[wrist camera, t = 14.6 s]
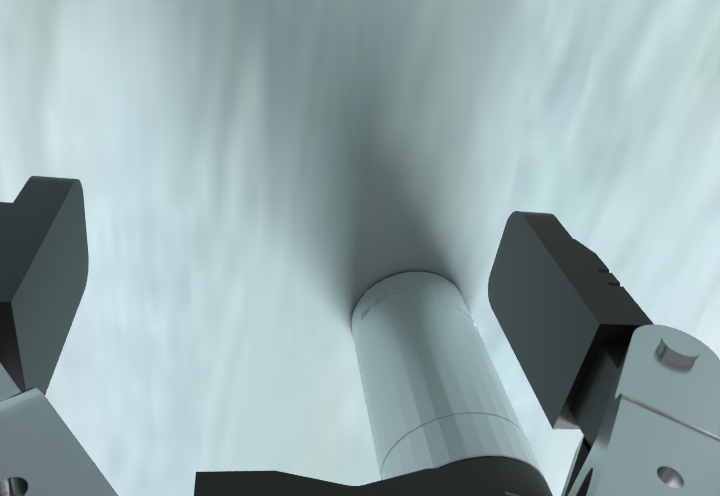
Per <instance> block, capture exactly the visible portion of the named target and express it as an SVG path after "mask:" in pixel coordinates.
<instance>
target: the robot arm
mask: <svg viewBox="0 0 720 496" xmlns="http://www.w3.org/2000/svg"><path fill="white" fill-rule="evenodd" d="M87 276H88V245H87V234H86V222H85V210H84V198H83V189H82V185H81V182H80V180H78V179H69V178H55V177H41V176H31V177H30V178H29V180H28V181H27V183H26V184H25V186H24V187H23V189H22V190H21V192H20V193H19V195H18V196H17V198H16V199H15V201H14V202H13V203H6V202H0V496H118V495H117V493H116V492H115V491H114V489H113V488H112V487H111V485H110V484H109V482H108V481H107V480H106V478H105V477H104V476H103V474H102V473H101V472H100V470H99V469H98V468H97V466H96V465H95V463H94V462H93V461H92V459H91V458H90V457H89V455H88V454H87V453H86V451H85V450H84V448H83V447H82V446H81V444H80V443H79V442H78V440H77V439H76V438H75V436H74V435H73V434H72V432H71V431H70V429H69V428H68V427H67V425H66V424H65V423H64V421H63V420H62V419H61V417H60V416H59V415H58V413H57V412H56V410H55V409H54V408H53V406H52V405H51V404H50V402H49V401H48V400H47V398H46V397H45V394H46V391H47V388H48V386H49V383H50V380H51V378H52V375H53V372H54V370H55V367H56V364H57V362H58V359H59V356H60V354H61V351H62V349H63V346H64V343H65V341H66V338H67V335H68V333H69V330H70V327H71V325H72V322H73V319H74V317H75V314H76V311H77V309H78V306H79V303H80V301H81V298H82V295H83V293H84V290H85V287H86V282H87ZM488 297H489V302H490V305H491V308H492V310H493V312H494V314H495V316H496V318H497V320H498V322H499V324H500V326H501V328H502V329H503V331H504V333H505V335H506V337H507V339H508V341H509V343H510V345H511V347H512V349H513V351H514V353H515V355H516V357H517V359H518V361H519V363H520V365H521V367H522V369H523V371H524V373H525V375H526V377H527V379H528V381H529V383H530V385H531V387H532V389H533V391H534V393H535V395H536V397H537V399H538V401H539V403H540V405H541V407H542V409H543V411H544V413H545V415H546V417H547V419H548V420H549V422H550V424H551V426H552V428H553V429H581V431H582V433H583V437H582V439H581V441H580V443H579V445H578V447H577V450H576V452H575V455H574V459H573V462H572V465H571V468H570V471H569V474H568V477H567V480H566V483H565V486H564V489H563V492H562V495H561V496H720V360H719V358H718V357H717V355H716V354H715V353H714V352H713V351H712V350H711V349H710V348H709V347H708V346H706V345H705V344H704V343H702V342H701V341H699V340H698V339H696V338H695V337H693V336H691V335H689V334H687V333H685V332H683V331H680V330H677V329H675V328H671V327H667V326H662V325H654V324H653V323H652V321H651V320H650V319H649V318H648V317H647V315H646V314H645V313H644V312H643V311H642V309H641V308H640V307H639V306H638V304H637V303H636V302H635V301H634V300H633V298H632V297H631V296H630V295H629V293H628V292H627V291H626V290H625V289H624V287H620V283H619V281H618V280H617V279H616V278H615V276H614V275H613V274H612V273H609V269H608V268H607V267H606V266H605V264H604V263H603V262H602V261H601V259H600V258H599V257H598V256H597V255H596V254H595V253H594V252H592V251H591V250H590V249H588V248H587V247H585V246H584V245H582V244H581V243H580V242H578V241H577V240H575V239H573V238H572V237H571V236H570V235H569V233H568V232H567V231H566V230H565V228H564V227H563V226H562V224H561V223H560V222H559V221H558V219H557V218H556V217H555V216H554V215H553V214H549V213H535V212H520V211H515V212H513V213H512V214H511V215H510V217H509V218H508V220H507V223H506V226H505V229H504V232H503V235H502V238H501V242H500V245H499V248H498V251H497V254H496V257H495V261H494V264H493V267H492V270H491V273H490V277H489V283H488ZM351 324H352V334H353V339H354V344H355V349H356V354H357V359H358V365H359V370H360V375H361V380H362V385H363V391H364V396H365V401H366V406H367V411H368V416H369V421H370V426H371V431H372V436H373V441H374V446H375V451H376V456H377V461H378V466H379V471H380V476H381V481H377V482H374V483H370V484H366V485H361V486H347V485H342V484H338V483H333V482H328V481H323V480H318V479H313V478H308V477H303V476H298V475H294V474H289V473H284V472H279V471H225V472H196V479H195V490H194V496H553V495H552V493H551V491H550V489H549V487H548V484H547V482H546V480H545V478H544V476H543V473H542V471H541V469H540V467H539V465H538V462H537V460H536V458H535V456H534V454H533V451H532V449H531V447H530V445H529V442H528V440H527V438H526V436H525V434H524V432H523V430H522V428H521V425H520V423H519V421H518V419H517V417H516V414H515V412H514V410H513V408H512V405H511V403H510V401H509V399H508V397H507V394H506V392H505V390H504V388H503V386H502V383H501V381H500V379H499V377H498V374H497V372H496V370H495V368H494V366H493V363H492V361H491V359H490V357H489V355H488V352H487V350H486V348H485V346H484V343H483V341H482V339H481V337H480V335H479V332H478V330H477V327H476V325H475V323H474V321H473V319H472V317H471V314H470V312H469V310H468V308H467V306H466V304H465V301H464V299H463V297H462V295H461V293H460V291H459V290H458V289H457V287H456V286H455V285H454V284H453V283H451V282H450V281H449V280H447V279H446V278H444V277H441V276H439V275H437V274H433V273H428V272H406V273H400V274H396V275H394V276H391V277H388V278H386V279H384V280H382V281H380V282H378V283H376V284H375V285H374V286H372V287H371V288H370V289H369V290H368V291H366V292H365V294H364V295H363V296H362V297H361V298H360V300H359V301H358V303H357V305H356V307H355V309H354V311H353V315H352V319H351Z"/></svg>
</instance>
